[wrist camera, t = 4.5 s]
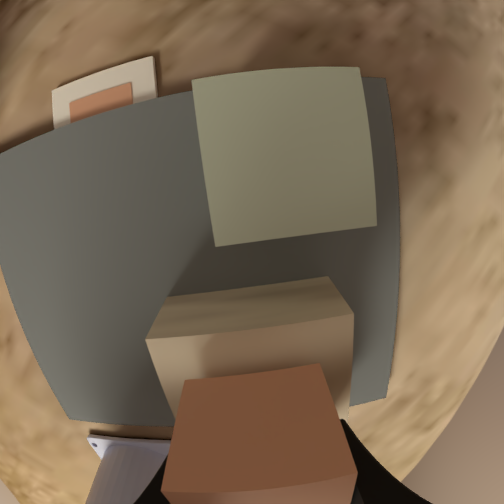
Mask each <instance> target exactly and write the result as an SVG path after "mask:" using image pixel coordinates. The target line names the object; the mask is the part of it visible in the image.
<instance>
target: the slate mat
mask: <svg viewBox="0 0 504 504" xmlns="http://www.w3.org/2000/svg"><path fill="white" fill-rule="evenodd" d="M361 79H362V85H363V90H364V96H365V103H366V109H367V116H368V123H369V131H370V139H371V148H372V158H373V168H374V181H375V195H376V214H377V226H372V227H363V228H356V229H348V230H340V231H332V232H324V233H316V234H309V235H301V236H293V237H286V238H278V239H270V240H263V241H255V242H248V243H241V244H233V245H226V246H218V247H215V241H214V235H213V229H212V223H211V217H210V210H209V204H208V198H207V191H206V185H205V178H204V171H203V164H202V157H201V150H200V143H199V136H198V128H197V121H196V113H195V105H194V97H193V90H192V91H187V92H182V93H177V94H172V95H168V96H163V97H159V98H154V99H150V100H146V101H142V102H138V103H135V104H131V105H127V106H124V107H120V108H117V109H113V110H110V111H107V112H103V113H100V114H97V115H94V116H91V117H88V118H85V119H82V120H79V121H76V122H73V123H71V124H68V125H65V126H63V127H60V128H57V129H55V130H52V131H50V132H47V133H45V134H42V135H40V136H38V137H35V138H33V139H31V140H28V141H26V142H24V143H22V144H19V145H17V146H15V147H13V148H11V149H9V150H7V151H5V152H3V153H1V154H0V265H1V269H2V272H3V275H4V279H5V282H6V285H7V288H8V291H9V294H10V297H11V300H12V303H13V305H14V308H15V311H16V313H17V316H18V318H19V321H20V323H21V326H22V328H23V331H24V333H25V336H26V338H27V340H28V342H29V345H30V347H31V349H32V351H33V353H34V356H35V358H36V360H37V362H38V364H39V366H40V368H41V370H42V372H43V374H44V376H45V378H46V380H47V381H48V383H49V385H50V387H51V389H52V391H53V392H54V394H55V396H56V398H57V399H58V401H59V403H60V405H61V406H62V408H63V410H64V411H65V413H66V414H67V416H68V418H69V419H72V420H79V421H87V422H96V423H107V424H119V425H136V426H174V425H175V417H174V415H173V413H172V410H171V408H170V405H169V403H168V400H167V398H166V395H165V393H164V390H163V388H162V385H161V383H160V380H159V377H158V375H157V372H156V369H155V366H154V364H153V361H152V358H151V355H150V352H149V349H148V346H147V344H146V341H145V338H146V336H147V334H148V333H149V331H150V329H151V327H152V325H153V323H154V321H155V319H156V317H157V315H158V313H159V311H160V309H161V307H162V305H163V303H164V302H165V300H166V298H167V297H171V296H180V295H189V294H197V293H206V292H214V291H222V290H230V289H238V288H246V287H254V286H261V285H269V284H276V283H283V282H290V281H297V280H304V279H311V278H318V277H324V276H328V277H329V278H330V280H331V281H332V282H333V284H334V285H335V287H336V288H337V290H338V291H339V292H340V294H341V295H342V297H343V298H344V300H345V301H346V302H347V304H348V305H349V307H350V308H351V310H352V311H353V313H354V336H353V360H352V377H351V391H350V403H349V407H350V406H354V405H359V404H363V403H367V402H371V401H375V400H378V399H382V398H386V395H387V389H388V383H389V377H390V370H391V363H392V356H393V348H394V339H395V330H396V319H397V307H398V292H399V271H400V207H399V186H398V171H397V159H396V148H395V139H394V131H393V123H392V115H391V108H390V102H389V96H388V90H387V84H386V79H385V78H374V77H361Z"/></svg>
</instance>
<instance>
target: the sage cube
mask: <svg viewBox="0 0 504 504" xmlns="http://www.w3.org/2000/svg"><path fill="white" fill-rule="evenodd" d="M191 81H192V89H193V97H194V105H195V113H196V121H197V128H198V136H199V143H200V150H201V157H202V164H203V171H204V178H205V185H206V191H207V198H208V204H209V210H210V217H211V223H212V229H213V235H214V241H215V247H218V246H226V245H233V244H241V243H248V242H255V241H263V240H270V239H278V238H286V237H293V236H301V235H309V234H316V233H324V232H332V231H340V230H348V229H356V228H363V227H372V226H377V214H376V195H375V181H374V168H373V158H372V148H371V139H370V131H369V123H368V116H367V109H366V103H365V96H364V90H363V85H362V79H361V74H360V68H359V67H298V68H281V69H268V70H257V71H248V72H239V73H232V74H225V75H218V76H212V77H206V78H200V79H194V80H191Z"/></svg>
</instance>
